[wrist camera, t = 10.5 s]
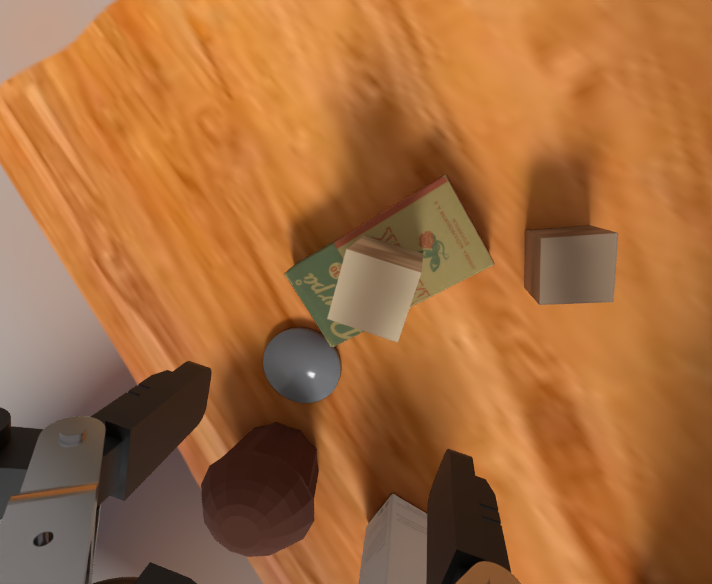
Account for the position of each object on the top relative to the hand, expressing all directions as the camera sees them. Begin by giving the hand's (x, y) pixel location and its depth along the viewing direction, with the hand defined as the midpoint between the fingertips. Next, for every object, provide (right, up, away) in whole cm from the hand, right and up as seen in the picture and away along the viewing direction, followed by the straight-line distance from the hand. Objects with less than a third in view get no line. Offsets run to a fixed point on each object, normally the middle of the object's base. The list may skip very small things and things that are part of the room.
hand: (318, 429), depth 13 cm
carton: (+4, +7, +24) cm, 25 cm away
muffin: (-7, -14, +31) cm, 35 cm away
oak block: (+4, +6, +20) cm, 21 cm away
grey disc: (-4, -3, +27) cm, 28 cm away
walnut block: (+18, +7, +20) cm, 28 cm away
